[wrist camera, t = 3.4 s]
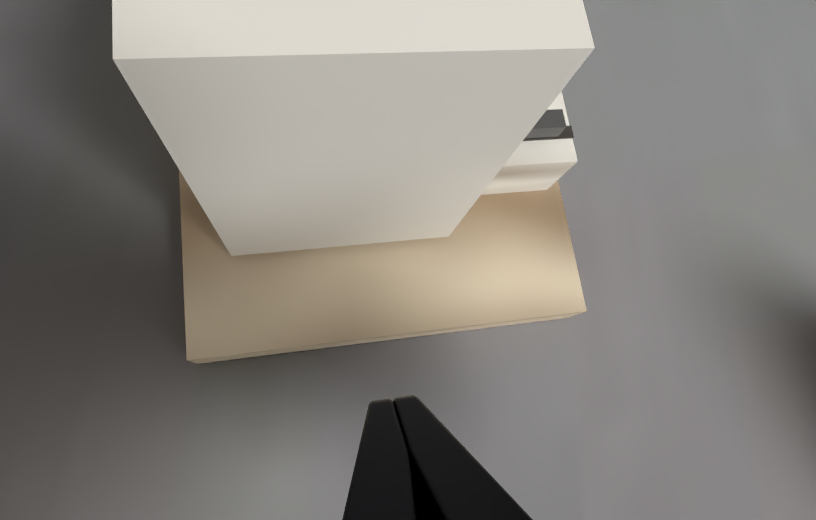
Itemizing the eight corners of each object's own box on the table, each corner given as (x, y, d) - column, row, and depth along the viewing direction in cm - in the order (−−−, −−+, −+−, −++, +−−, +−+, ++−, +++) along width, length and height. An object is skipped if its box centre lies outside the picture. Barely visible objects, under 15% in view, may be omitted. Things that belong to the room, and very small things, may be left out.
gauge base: (567, 317, 20) (626, 297, 16) (197, 363, 17) (163, 352, 14) (471, -141, 25) (498, -240, 21) (174, -155, 22) (144, -269, 19)
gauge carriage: (540, 228, 19) (773, 43, 9) (231, 256, 17) (112, 59, 7) (501, 40, 20) (662, -281, 11) (218, 46, 18) (108, -338, 9)
